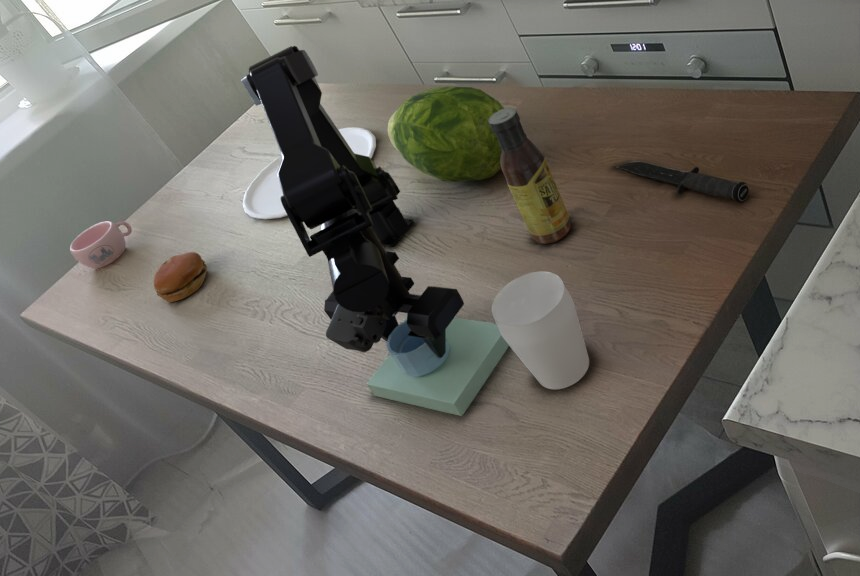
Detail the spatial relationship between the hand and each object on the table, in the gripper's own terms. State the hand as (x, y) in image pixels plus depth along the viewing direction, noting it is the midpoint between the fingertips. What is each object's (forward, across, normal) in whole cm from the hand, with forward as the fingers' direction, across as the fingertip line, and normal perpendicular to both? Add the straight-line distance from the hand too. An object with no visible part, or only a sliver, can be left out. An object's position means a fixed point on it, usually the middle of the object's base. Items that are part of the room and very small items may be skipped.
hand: (421, 351), depth 107 cm
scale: (+4, +1, +1) cm, 4 cm away
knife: (+4, +18, +40) cm, 44 cm away
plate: (+4, -62, +40) cm, 74 cm away
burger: (+4, -66, +8) cm, 67 cm away
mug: (+4, -98, +13) cm, 98 cm away
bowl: (+2, 0, 0) cm, 2 cm away
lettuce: (+4, -24, +42) cm, 48 cm away
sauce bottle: (+4, +3, +28) cm, 28 cm away
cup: (+4, +18, +4) cm, 19 cm away
